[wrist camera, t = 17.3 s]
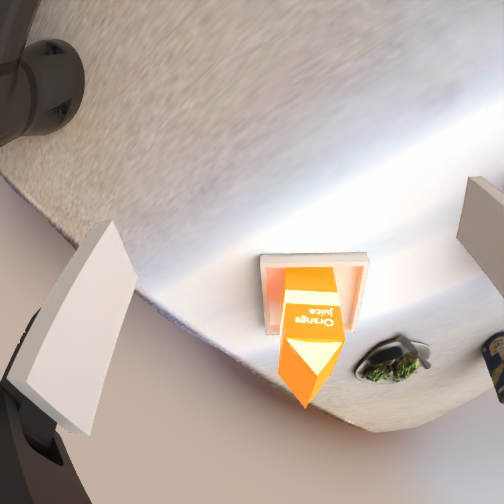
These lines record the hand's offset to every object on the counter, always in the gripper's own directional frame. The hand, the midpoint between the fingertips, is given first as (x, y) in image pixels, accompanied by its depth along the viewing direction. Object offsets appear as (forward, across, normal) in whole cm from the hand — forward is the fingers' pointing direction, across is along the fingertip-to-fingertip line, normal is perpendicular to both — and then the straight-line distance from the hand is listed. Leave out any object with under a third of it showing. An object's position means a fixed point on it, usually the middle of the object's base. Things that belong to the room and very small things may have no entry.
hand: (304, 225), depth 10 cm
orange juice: (+29, +4, -30) cm, 42 cm away
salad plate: (+28, +23, -55) cm, 66 cm away
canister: (+24, +54, -56) cm, 81 cm away
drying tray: (+29, +5, -32) cm, 44 cm away
